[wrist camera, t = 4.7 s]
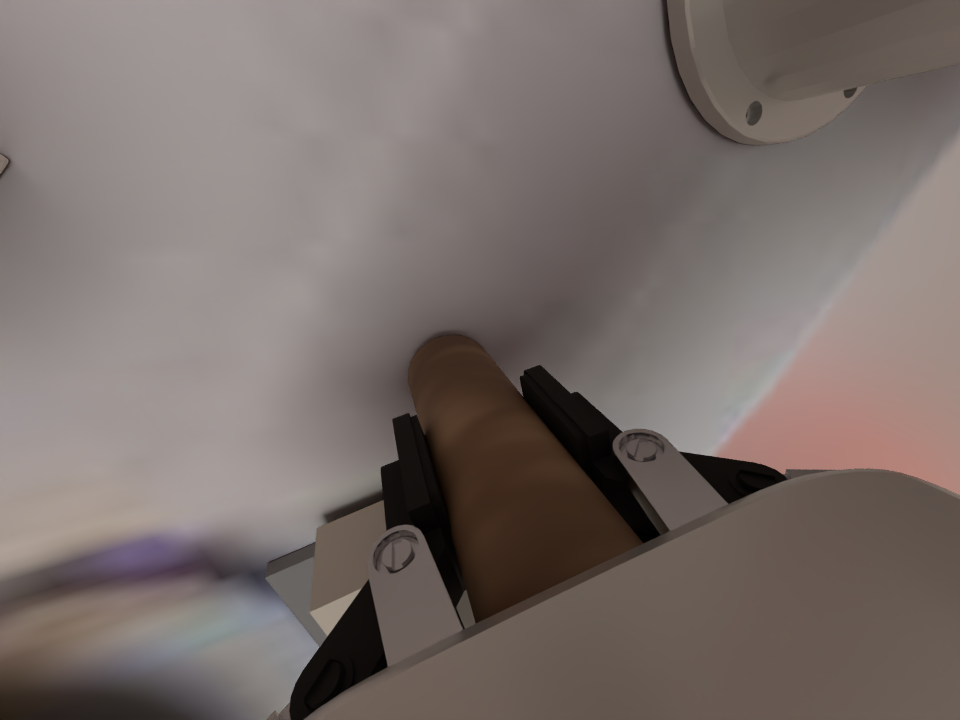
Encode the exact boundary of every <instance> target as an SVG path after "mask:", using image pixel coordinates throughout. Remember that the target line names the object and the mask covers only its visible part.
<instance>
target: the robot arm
mask: <svg viewBox="0 0 960 720" xmlns="http://www.w3.org/2000/svg"><path fill="white" fill-rule="evenodd" d="M667 6H668V16H669V26H670V36H671V42H672V46H673V50H674V54H675V58H676V62H677V66H678V70H679V73H680V76H681V78H682V80H683V83H684V85H685V87H686V89H687V92H688V94H689V96H690V99H691V101H692V102H693V103H694V105H695V106H696V108H697V109H698V111H699V112H700V113H701V115H702V116H703V118H704V119H705V121H707V122H708V123H709V124H710V125H711V126H712V127H714V128H715V129H716V130H717V131H718V132H719V133H720V134H722V135H723V136H726V137H728V138H730V139H732V140H734V141H736V142H739V143H743V144H751V145H759V146H760V145H767V144H775V143H784V142H789V141H792V140H795V139H799V138H802V137H805V136H808V135H810V134H811V133H813V132H815V131H817V130H818V129H820V128H822V127H824V126H825V125H827V124H828V123H830V122H831V121H832V120H833V119H834V118H836V117H837V116H838V115H839V114H840V113H842V112H843V111H844V110H845V109H846V108H847V107H848V106H849V105H850V104H851V103H852V102H853V101H854V100H855V99H856V97H857V96H858V95H859V94H860V93H861V92H862V91H863V90H864V89H865V88H866V86H867V85H869V84H873V83H878V82H882V81H887V80H891V79H895V78H900V77H904V76H909V75H913V74H917V73H922V72H926V71H931V70H935V69H939V68H944V67H948V66H953V65H957V64H960V0H667ZM520 382H521V387H522V392H523V397H524V399H525V400H526V401H527V402H528V403H529V405H530V406H531V407H532V408H533V410H534V411H535V412H536V413H537V414H538V416H539V417H540V418H541V419H542V420H543V422H544V423H545V424H546V425H547V427H548V428H549V429H550V430H551V431H552V433H553V434H554V435H555V436H556V438H557V439H558V440H559V441H560V442H561V444H562V445H563V446H564V447H565V448H566V450H567V451H568V452H569V453H570V455H571V456H572V457H573V458H574V459H575V461H576V462H577V463H578V464H579V466H580V467H581V468H582V469H583V470H584V472H585V473H586V474H587V475H588V476H589V478H590V479H591V480H592V481H593V483H594V484H595V485H596V486H597V487H598V489H599V490H600V491H601V492H602V494H603V495H604V496H605V497H606V498H607V500H608V501H609V502H610V503H611V504H612V506H613V507H614V508H615V509H616V511H617V512H618V513H619V514H620V515H621V517H622V518H623V519H624V520H625V522H626V523H627V524H628V525H629V526H630V528H631V529H632V530H633V531H634V533H635V534H636V535H637V536H638V537H639V539H640V540H641V541H642V542H643V543H644V544H642V545H639V546H637V547H635V548H633V549H631V550H629V551H627V552H625V553H623V554H620V555H618V556H616V557H614V558H612V559H610V560H608V561H606V562H604V563H601V564H599V565H597V566H595V567H593V568H591V569H589V570H587V571H585V572H582V573H580V574H578V575H576V576H574V577H572V578H570V579H568V580H566V581H564V582H561V583H559V584H557V585H555V586H553V587H551V588H549V589H547V590H545V591H543V592H541V593H538V594H536V595H534V596H532V597H530V598H528V599H526V600H524V601H522V602H520V603H518V604H516V605H513V606H511V607H509V608H507V609H505V610H503V611H501V612H499V613H497V614H495V615H493V616H491V617H489V618H487V619H484V620H482V621H480V622H478V623H476V624H474V625H472V626H470V627H468V628H466V629H465V627H464V624H463V622H462V619H461V617H460V615H459V612H458V610H457V608H456V607H457V605H458V603H459V601H460V599H461V597H462V595H463V593H464V591H465V590H466V587H465V584H464V580H463V577H462V573H461V569H460V566H459V562H458V559H457V555H456V552H455V548H454V544H453V541H452V537H451V526H450V523H449V519H448V516H447V512H446V509H445V505H444V502H443V498H442V495H441V491H440V488H439V484H438V481H437V477H436V474H435V470H434V467H433V463H432V460H431V456H430V453H429V449H428V446H427V443H426V439H425V436H424V433H423V430H422V428H421V425H420V422H419V420H418V417H417V415H415V416H412V417H410V414H409V413H407V414H405V415H402V416H399V417H396V418H394V419H392V421H393V427H394V433H395V439H396V445H397V451H398V457H399V460H398V461H395V462H392V463H390V464H387V465H385V466H382V467H381V479H382V490H383V501H384V511H385V522H386V532H384V533H383V534H381V535H380V536H379V537H378V538H377V539H376V541H375V542H374V543H373V545H372V546H371V548H370V550H369V552H368V555H367V559H366V567H367V572H368V577H369V579H368V580H367V582H366V583H365V585H364V586H363V587H362V589H361V590H360V592H359V593H358V594H357V596H356V597H355V599H354V600H353V601H352V603H351V604H350V606H349V607H348V608H347V610H346V611H345V613H344V614H343V615H342V617H341V618H340V620H339V621H338V622H337V624H336V625H335V627H334V628H333V629H332V631H331V632H330V634H329V635H328V636H327V638H326V639H325V641H324V642H323V643H322V645H321V646H320V648H319V649H318V650H317V652H316V653H315V655H314V656H313V657H312V659H311V660H310V662H309V663H308V664H307V666H306V667H305V669H304V670H303V672H302V673H301V675H300V677H299V678H298V680H297V682H296V684H295V687H294V690H293V692H292V695H291V700H290V703H289V704H288V705H287V706H286V707H285V708H284V709H283V710H282V712H281V713H280V714H278V713H277V712H276V711H274V712H273V713H272V714H271V715H270V716H269V718H268V719H267V720H960V495H958V494H956V493H954V492H952V491H949V490H947V489H945V488H942V487H940V486H937V485H935V484H933V483H930V482H927V481H925V480H922V479H919V478H917V477H913V476H910V475H907V474H903V473H900V472H894V471H889V470H881V469H846V470H793V469H791V470H790V469H789V470H788V469H786V473H785V474H781V473H780V472H778V471H777V470H775V469H772V468H770V467H768V466H765V465H762V464H757V463H753V462H746V461H740V460H733V459H726V458H719V457H712V456H705V455H699V454H692V453H685V452H679V451H678V450H677V449H676V448H675V447H674V446H673V445H672V444H671V443H670V442H669V441H668V440H667V439H666V438H665V437H663V436H662V435H661V434H659V433H657V432H654V431H651V430H647V429H632V430H627V431H625V432H622V431H621V430H620V429H619V428H617V427H616V426H615V425H614V424H613V423H612V422H611V421H610V420H609V419H607V418H606V417H605V416H604V415H603V414H602V413H601V412H600V411H598V410H597V409H596V408H595V407H594V406H593V405H592V404H591V403H590V402H588V401H587V400H586V399H585V398H584V397H583V396H582V395H581V394H579V393H578V392H574V393H570V392H569V391H567V390H566V389H565V388H564V387H563V386H562V385H561V384H560V383H559V382H558V381H557V380H556V379H555V378H554V377H552V376H551V375H550V374H549V373H548V372H547V371H546V370H545V369H544V368H543V367H542V366H540V365H538V366H535V367H533V368H530V369H527V370H525V371H524V375H523V376H520Z"/></svg>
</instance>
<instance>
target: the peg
mask: <svg viewBox="0 0 960 720" xmlns="http://www.w3.org/2000/svg"><path fill="white" fill-rule="evenodd" d="M408 383H409V387H410V390H411V394H412V398H413V401H414V405H415V408H416V412H417V416H418V419H419V422H420V425H421V428H422V430H423V433H424V436H425V439H426V443H427V446H428V449H429V453H430V456H431V460H432V463H433V467H434V470H435V474H436V477H437V481H438V484H439V488H440V491H441V495H442V498H443V502H444V505H445V509H446V512H447V516H448V519H449V523H450V526H451V537H452V541H453V544H454V548H455V552H456V555H457V559H458V562H459V566H460V569H461V573H462V577H463V580H464V584H465V587H466V591H467V594H468V598H469V602H470V605H471V609H472V612H473V616H474V619H475V623H478V622H480V621H482V620H484V619H487V618H489V617H491V616H493V615H495V614H497V613H499V612H501V611H503V610H505V609H507V608H509V607H511V606H513V605H516V604H518V603H520V602H522V601H524V600H526V599H528V598H530V597H532V596H534V595H536V594H538V593H541V592H543V591H545V590H547V589H549V588H551V587H553V586H555V585H557V584H559V583H561V582H564V581H566V580H568V579H570V578H572V577H574V576H576V575H578V574H580V573H582V572H585V571H587V570H589V569H591V568H593V567H595V566H597V565H599V564H601V563H604V562H606V561H608V560H610V559H612V558H614V557H616V556H618V555H620V554H623V553H625V552H627V551H629V550H631V549H633V548H635V547H637V546H639V545H642V544H644V543H643V542H642V541H641V540H640V539H639V537H638V536H637V535H636V534H635V533H634V531H633V530H632V529H631V528H630V526H629V525H628V524H627V523H626V522H625V520H624V519H623V518H622V517H621V515H620V514H619V513H618V512H617V511H616V509H615V508H614V507H613V506H612V504H611V503H610V502H609V501H608V500H607V498H606V497H605V496H604V495H603V494H602V492H601V491H600V490H599V489H598V487H597V486H596V485H595V484H594V483H593V481H592V480H591V479H590V478H589V476H588V475H587V474H586V473H585V472H584V470H583V469H582V468H581V467H580V466H579V464H578V463H577V462H576V461H575V459H574V458H573V457H572V456H571V455H570V453H569V452H568V451H567V450H566V448H565V447H564V446H563V445H562V444H561V442H560V441H559V440H558V439H557V438H556V436H555V435H554V434H553V433H552V431H551V430H550V429H549V428H548V427H547V425H546V424H545V423H544V422H543V420H542V419H541V418H540V417H539V416H538V414H537V413H536V412H535V411H534V410H533V408H532V407H531V406H530V405H529V403H528V402H527V401H526V400H525V399H524V397H523V396H522V395H521V394H520V392H519V391H518V390H517V389H516V388H515V386H514V385H513V384H512V383H511V381H510V380H509V379H508V378H507V377H506V375H505V374H504V373H503V372H502V371H501V369H500V368H499V367H498V366H497V364H496V363H495V362H494V361H493V360H492V358H491V357H490V356H489V355H488V353H487V352H486V351H485V350H484V349H483V347H482V346H481V345H480V344H478V343H477V342H476V341H474V340H473V339H471V338H468V337H465V336H461V335H446V336H442V337H438V338H436V339H433V340H432V341H430V342H428V343H427V344H425V345H424V346H423V347H422V348H421V349H420V350H419V351H418V352H417V353H416V354H415V356H414V358H413V359H412V362H411V364H410V367H409V372H408Z"/></svg>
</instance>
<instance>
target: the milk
mask: <svg viewBox="0 0 960 720" xmlns="http://www.w3.org/2000/svg"><path fill="white" fill-rule="evenodd" d="M7 164H8V159H7V158H5V157H4V156H3V155H1V154H0V174H1V173H2V171H3V170H4V168H5V167H6V165H7Z"/></svg>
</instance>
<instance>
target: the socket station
mask: <svg viewBox="0 0 960 720" xmlns="http://www.w3.org/2000/svg"><path fill="white" fill-rule="evenodd" d="M384 532H386V522H385V511H384V501H383V500H382V501H380V502H377V503H375V504H373V505H370V506H368V507H365V508H363V509H361V510H358V511H356V512H354V513H351V514H349V515H347V516H344V517H342V518H339V519H337V520H335V521H332V522H330V523H328V524H325V525H323V526H320V527H318V528H317V533H316V543H314V544H311V545H309V546H307V547H304V548H302V549H300V550H297V551H295V552H293V553H290V554H288V555H286V556H283V557H281V558H279V559H277V560H274V561H272V562H270V563H268V565H267V570H266V575H265V579H266V580H267V581H268V583H269V584H270V585H271V586H272V588H273V589H274V590H275V591H276V593H277V594H278V595H279V596H280V598H281V599H282V600H283V602H284V603H285V604H286V605H287V607H288V608H289V609H290V610H291V612H292V613H293V614H294V615H295V617H296V618H297V619H298V620H299V622H300V623H301V624H302V625H303V627H304V628H305V629H306V630H307V632H308V633H309V634H310V636H311V637H312V638H313V639H314V641H315V642H316V643H317V644H318V646H319V647H320V646H321V645H322V643H323V642H324V641H325V639H326V638H327V636H328V635H329V634H330V632H331V631H332V629H333V628H334V627H335V625H336V624H337V622H338V621H339V620H340V618H341V617H342V615H343V614H344V613H345V611H346V610H347V608H348V607H349V606H350V604H351V603H352V601H353V600H354V599H355V597H356V596H357V594H358V593H359V592H360V590H361V589H362V587H363V586H364V585H365V583H366V582H367V580H368V579H369V577H368V572H367V567H366V559H367V555H368V552H369V550H370V548H371V546H372V545H373V543H374V542H375V541H376V539H377V538H378V537H379V536H380V535H381V534H383V533H384ZM456 608H457V610H458V612H459V615H460V617H461V619H462V622H463V624H464V627H465V629H466V628H468V627H470V626H472V625H474V624H476V623H475V619H474V616H473V612H472V609H471V605H470V602H469V598H468V594H467V591H466V590H465V591H464V593H463V595H462V597H461V599H460V601H459V603H458V605H457V607H456Z"/></svg>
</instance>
